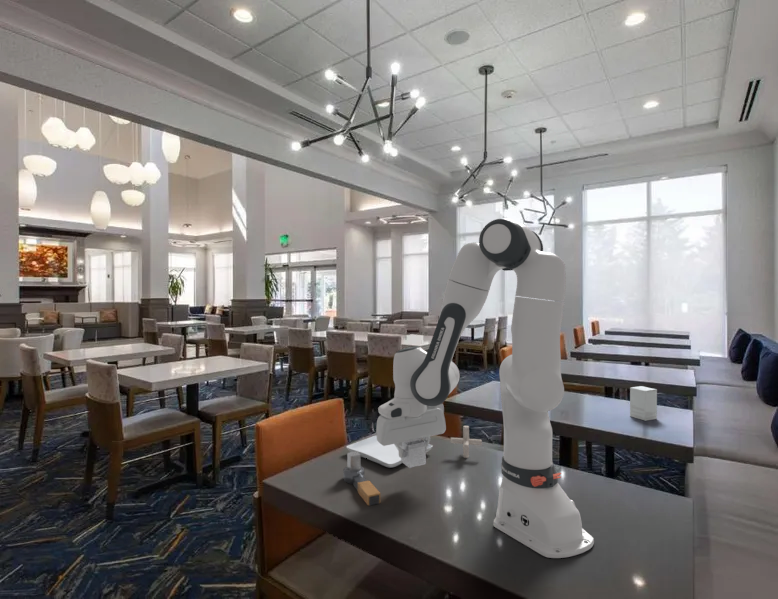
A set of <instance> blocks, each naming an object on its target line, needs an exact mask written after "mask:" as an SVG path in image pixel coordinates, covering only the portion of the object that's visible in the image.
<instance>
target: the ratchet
mask: <svg viewBox="0 0 778 599" xmlns="http://www.w3.org/2000/svg"><path fill="white" fill-rule="evenodd" d="M346 456H347V458H346V460H347V461H346V463H347V464H346V465H347V466H345V467H344V468H343V471H342V472H343V475H342V476H343V478H342V480H343V479H344V480H343V482H344V483H346V482H347V484H349V485H350V484H351V485H353V486H354V488H355V489H356V491H357V494H359V496H360V497H361V499H362V500H363V501H364V502H365V504H366V505H367V506H373V505H378V504H381V492H380V491H379V490H378V489H377V487H375V484H373V483H372V482H371V481H370V480H368V479H366V478H365V468H364V466H362V464H361V460H362V459H361V458H362V457H361V455H360V454H359V453H358V452H357V451H355V452H350V451H349V452H347V453H346Z"/></svg>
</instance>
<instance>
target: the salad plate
mask: <svg viewBox="0 0 778 599" xmlns="http://www.w3.org/2000/svg"><path fill="white" fill-rule="evenodd" d="M433 446H434V445H433V444H430V443H429V444H428V446H427V452H426V453H428V452H429V451H431V450H432V449H433ZM346 449H347V450H348V451H349V452H355V451H357V452H358V453H359V454H360V455H361V458H364V459H366V458H367V460H369V461H372V462H374V463H376V464H379V465H381V466H383V467H386V468H389V469H390V468H395V467H398V466H400V465H401V464H403V463H402V462H401V458H400V457H399V451H398V449H397V448H396V446H395V445H394V444H391V445H386V446H383V445H382V444H380V443H379V442H378V441H377V437H376V434H375V435H373V436H370V437H368V438H364V439H361V440H359V441H357V442H354V443H351V444H349V445H346Z"/></svg>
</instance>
